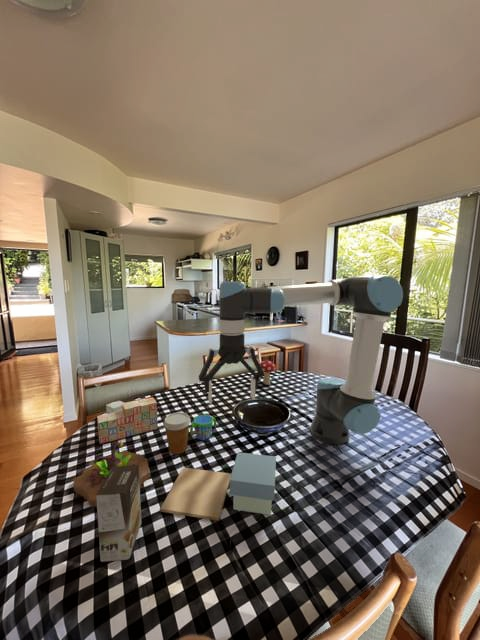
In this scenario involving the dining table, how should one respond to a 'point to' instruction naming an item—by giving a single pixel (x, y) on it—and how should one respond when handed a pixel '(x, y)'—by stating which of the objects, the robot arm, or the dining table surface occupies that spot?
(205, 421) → the snack cup
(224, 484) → the cork mat
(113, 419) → the stack of blocks
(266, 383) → the decorative mushroom
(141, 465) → the plant
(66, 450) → the dining table surface
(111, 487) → the coffee box
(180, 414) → the disposable coffee cup
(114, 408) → the skincare box
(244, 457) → the lid
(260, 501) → the storage box
